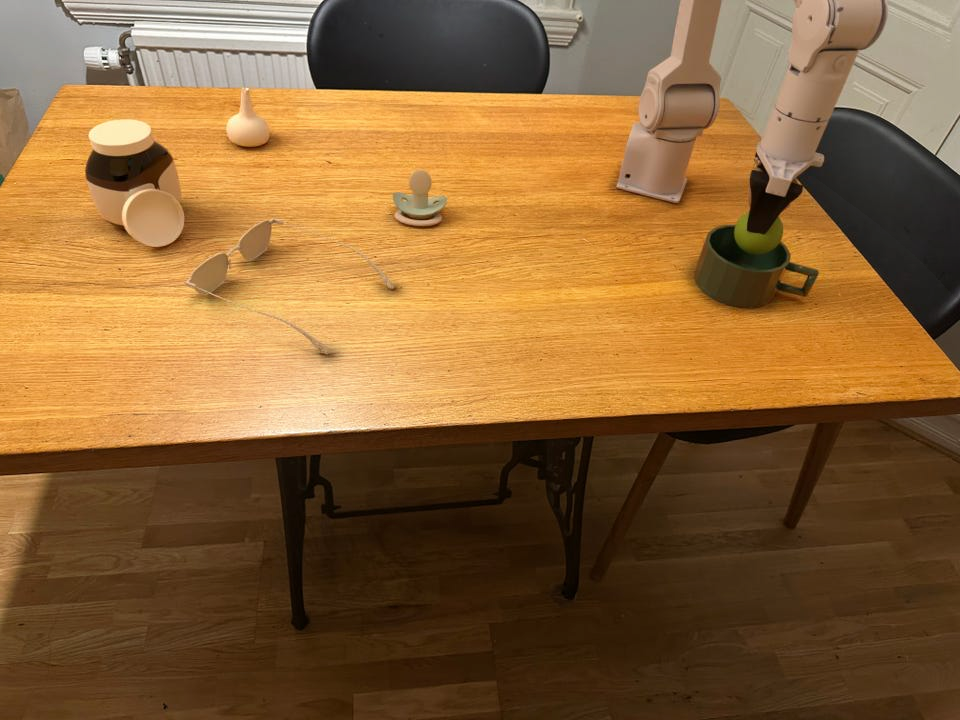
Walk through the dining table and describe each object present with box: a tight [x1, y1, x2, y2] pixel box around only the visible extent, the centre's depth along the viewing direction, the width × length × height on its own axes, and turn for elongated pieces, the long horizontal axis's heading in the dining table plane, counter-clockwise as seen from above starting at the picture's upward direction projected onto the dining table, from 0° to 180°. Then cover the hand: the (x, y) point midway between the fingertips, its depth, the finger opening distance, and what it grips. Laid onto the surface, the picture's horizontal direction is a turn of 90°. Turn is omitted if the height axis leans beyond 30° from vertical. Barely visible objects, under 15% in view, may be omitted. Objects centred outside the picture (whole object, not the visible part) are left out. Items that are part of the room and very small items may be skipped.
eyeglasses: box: [184, 217, 395, 355], centre depth 79 cm, size 15×18×4 cm
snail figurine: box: [734, 157, 799, 255], centre depth 81 cm, size 5×6×12 cm
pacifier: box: [392, 169, 448, 227], centre depth 93 cm, size 7×6×6 cm
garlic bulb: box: [225, 87, 271, 148], centre depth 104 cm, size 6×6×8 cm
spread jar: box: [84, 119, 185, 248], centre depth 85 cm, size 12×11×12 cm
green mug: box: [693, 224, 820, 309], centre depth 86 cm, size 14×10×6 cm
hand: (757, 221), depth 83 cm, fingers closed on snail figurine, 4 cm apart
